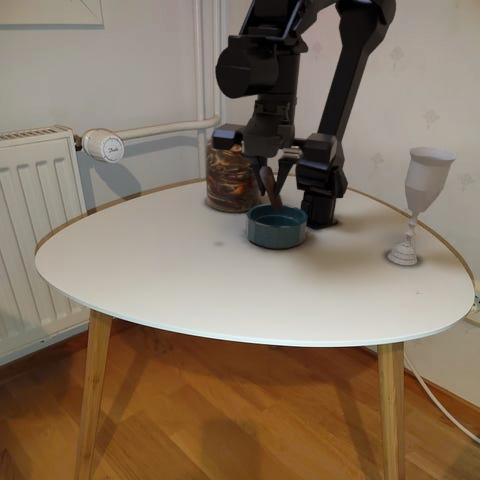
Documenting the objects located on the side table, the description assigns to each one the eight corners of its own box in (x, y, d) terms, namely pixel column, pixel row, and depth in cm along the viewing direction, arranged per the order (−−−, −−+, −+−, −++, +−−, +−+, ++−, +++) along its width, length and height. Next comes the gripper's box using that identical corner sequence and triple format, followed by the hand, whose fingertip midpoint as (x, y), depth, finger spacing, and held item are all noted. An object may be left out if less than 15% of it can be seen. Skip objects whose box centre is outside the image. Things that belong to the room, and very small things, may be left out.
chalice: (376, 249, 77) (402, 146, 66) (412, 248, 78) (442, 147, 67) (391, 268, 71) (422, 160, 61) (429, 268, 72) (466, 160, 61)
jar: (263, 196, 97) (267, 127, 88) (253, 215, 88) (256, 140, 79) (214, 191, 99) (214, 122, 90) (199, 209, 90) (197, 135, 81)
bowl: (281, 221, 86) (283, 199, 84) (316, 242, 79) (320, 219, 76) (235, 232, 81) (235, 210, 79) (267, 256, 74) (269, 232, 71)
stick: (279, 199, 77) (267, 163, 64) (285, 207, 76) (274, 172, 64) (270, 206, 77) (256, 171, 64) (276, 213, 76) (264, 180, 64)
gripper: (194, 93, 57) (198, 204, 66) (331, 106, 52) (314, 224, 61) (224, 83, 65) (224, 183, 74) (345, 93, 60) (328, 199, 70)
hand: (269, 196), depth 70 cm, fingers closed on stick, 2 cm apart
